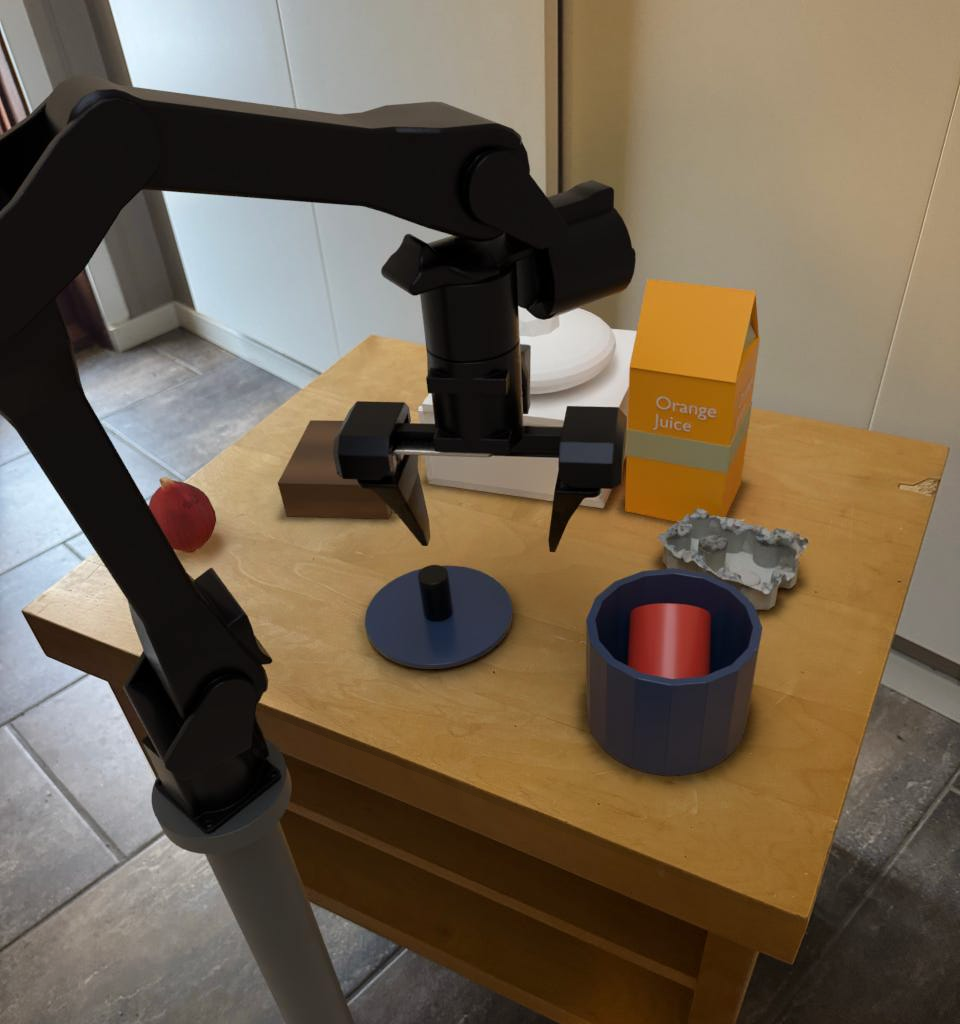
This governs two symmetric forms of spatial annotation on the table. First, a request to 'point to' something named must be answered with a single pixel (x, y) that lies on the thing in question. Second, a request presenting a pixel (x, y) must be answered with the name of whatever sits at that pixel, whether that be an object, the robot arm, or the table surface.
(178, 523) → the onion
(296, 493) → the block
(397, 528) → the table surface
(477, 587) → the lid
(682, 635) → the tomato can
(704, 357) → the orange juice
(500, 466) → the white box with dome
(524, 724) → the table surface
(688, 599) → the pot
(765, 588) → the egg carton
